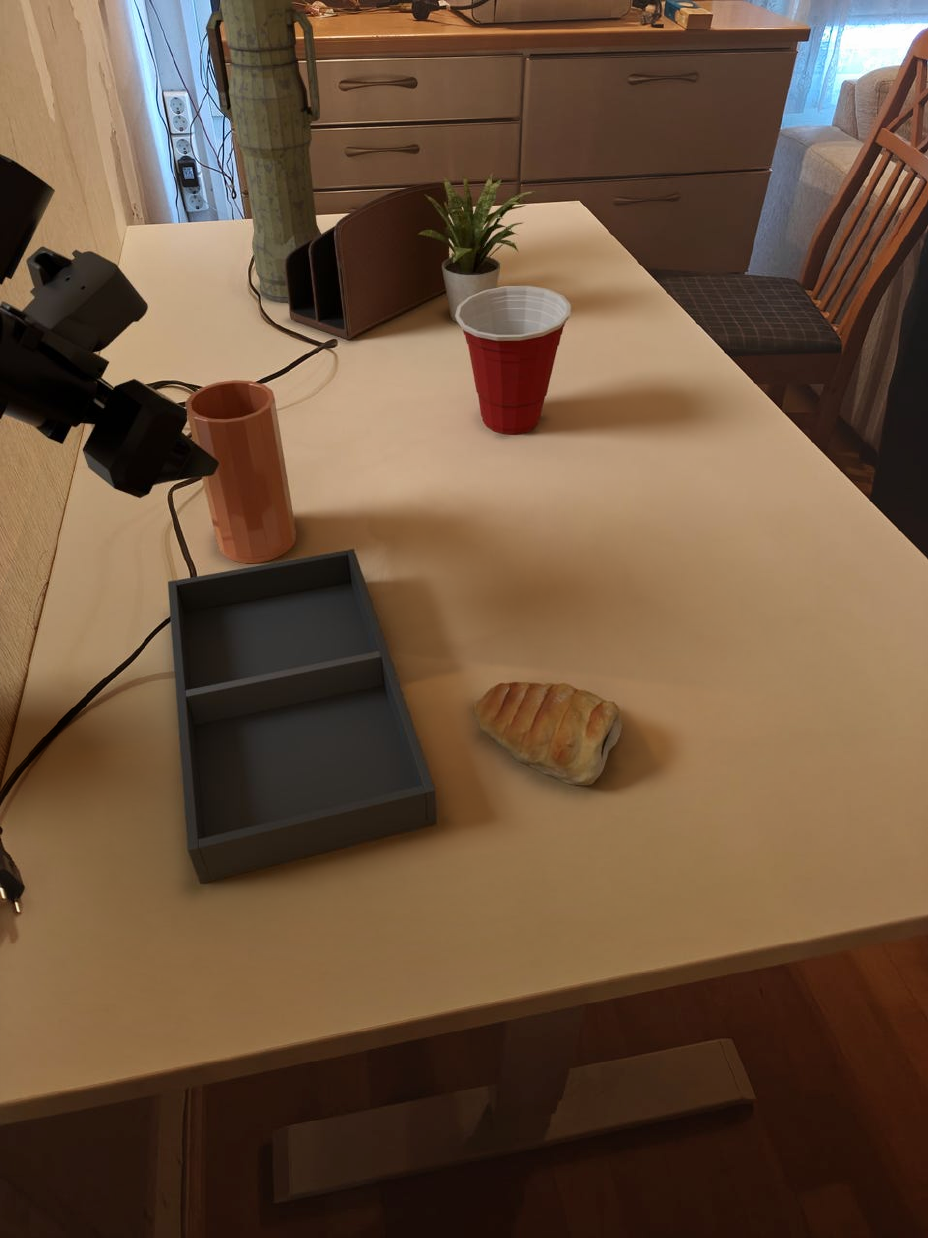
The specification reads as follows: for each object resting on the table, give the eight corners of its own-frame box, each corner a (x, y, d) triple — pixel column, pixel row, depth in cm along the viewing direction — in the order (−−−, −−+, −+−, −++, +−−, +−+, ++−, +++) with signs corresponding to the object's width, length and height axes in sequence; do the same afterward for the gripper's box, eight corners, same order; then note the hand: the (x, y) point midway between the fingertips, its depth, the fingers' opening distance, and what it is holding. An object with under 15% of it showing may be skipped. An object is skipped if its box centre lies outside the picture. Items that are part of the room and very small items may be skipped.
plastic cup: (437, 409, 91) (435, 295, 83) (527, 387, 94) (533, 275, 86) (487, 459, 83) (489, 339, 75) (582, 432, 87) (594, 315, 79)
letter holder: (451, 290, 114) (450, 174, 105) (349, 342, 103) (337, 216, 93) (393, 273, 119) (388, 160, 109) (289, 320, 107) (272, 198, 98)
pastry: (458, 749, 57) (458, 710, 54) (497, 682, 61) (499, 643, 59) (595, 798, 54) (602, 759, 51) (626, 724, 59) (634, 684, 56)
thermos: (256, 275, 118) (205, -48, 95) (342, 277, 118) (313, -47, 94) (240, 301, 111) (181, -40, 88) (331, 303, 111) (297, -39, 88)
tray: (200, 884, 49) (187, 850, 47) (177, 615, 67) (167, 581, 64) (437, 824, 52) (435, 790, 50) (357, 582, 70) (353, 548, 67)
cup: (222, 569, 71) (188, 427, 62) (215, 524, 75) (183, 386, 67) (301, 555, 72) (279, 414, 63) (290, 512, 77) (268, 375, 68)
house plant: (523, 348, 101) (530, 199, 90) (407, 340, 103) (400, 192, 92) (535, 300, 112) (543, 161, 101) (429, 293, 113) (426, 156, 103)
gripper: (114, 265, 45) (311, 389, 58) (-32, 188, 55) (165, 309, 68) (18, 454, 46) (232, 534, 59) (-108, 346, 56) (100, 435, 69)
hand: (180, 444), depth 64 cm, fingers open, 9 cm apart
